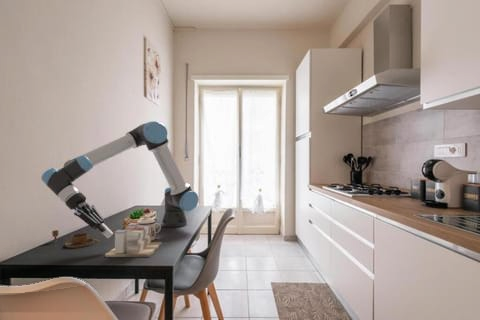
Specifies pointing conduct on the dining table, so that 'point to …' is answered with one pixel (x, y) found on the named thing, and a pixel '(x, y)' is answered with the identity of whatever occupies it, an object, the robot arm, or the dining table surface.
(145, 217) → the teacup with lid
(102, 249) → the dining table surface
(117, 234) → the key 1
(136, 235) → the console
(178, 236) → the dining table surface
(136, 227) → the key
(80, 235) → the place setting
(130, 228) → the key terracotta
